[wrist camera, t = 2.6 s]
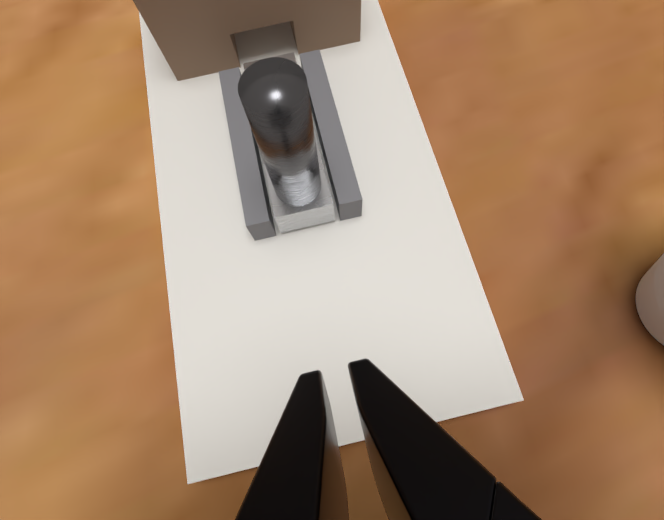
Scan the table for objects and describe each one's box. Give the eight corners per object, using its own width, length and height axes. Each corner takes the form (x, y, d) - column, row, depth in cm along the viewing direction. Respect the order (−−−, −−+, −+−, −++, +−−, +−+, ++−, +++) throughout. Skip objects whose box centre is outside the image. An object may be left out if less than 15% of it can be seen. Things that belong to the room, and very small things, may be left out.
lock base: (511, 399, 20) (640, 405, 11) (199, 477, 20) (72, 549, 11) (362, -19, 30) (367, -198, 21) (149, 27, 29) (58, -136, 20)
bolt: (334, 220, 22) (324, 110, 13) (281, 233, 22) (236, 130, 13) (298, 78, 25) (270, -85, 17) (251, 88, 25) (199, -70, 16)
